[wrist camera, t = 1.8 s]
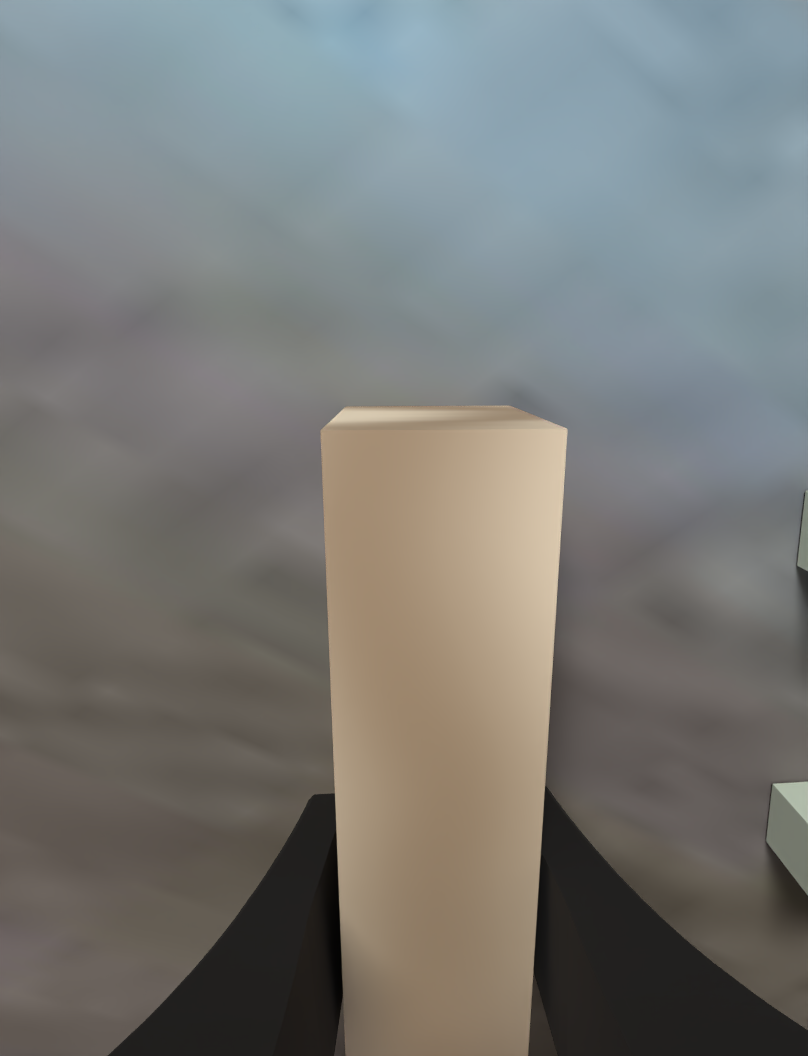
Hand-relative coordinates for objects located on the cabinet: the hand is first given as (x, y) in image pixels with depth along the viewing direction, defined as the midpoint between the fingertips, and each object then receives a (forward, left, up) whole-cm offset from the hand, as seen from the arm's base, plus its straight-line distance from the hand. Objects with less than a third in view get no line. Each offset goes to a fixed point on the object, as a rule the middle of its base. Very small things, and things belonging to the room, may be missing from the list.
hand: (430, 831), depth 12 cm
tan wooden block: (+2, 0, -2) cm, 3 cm away
